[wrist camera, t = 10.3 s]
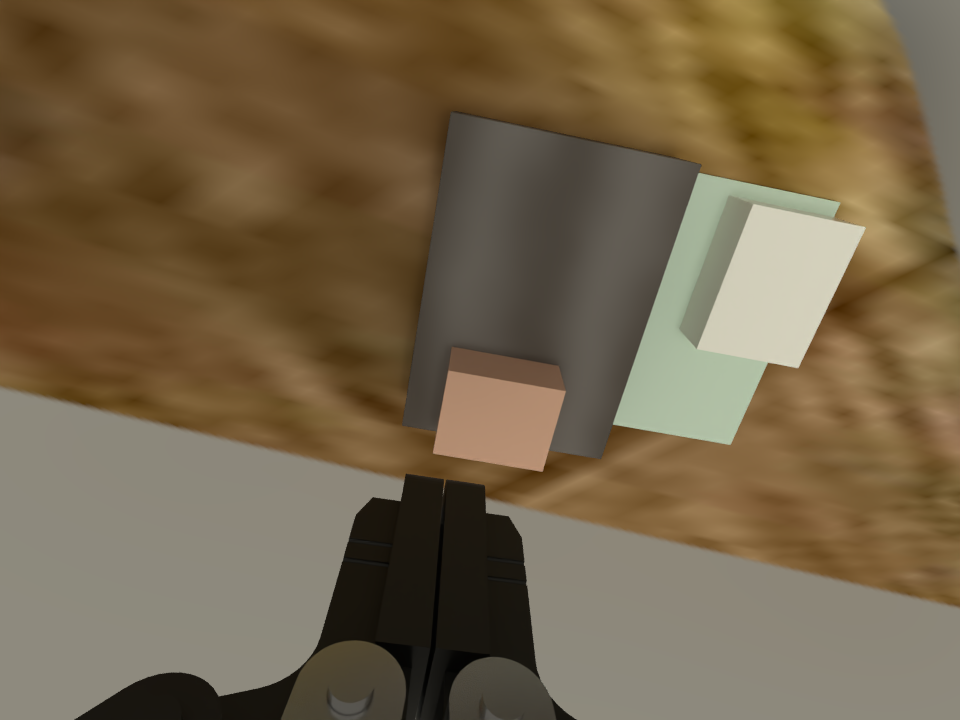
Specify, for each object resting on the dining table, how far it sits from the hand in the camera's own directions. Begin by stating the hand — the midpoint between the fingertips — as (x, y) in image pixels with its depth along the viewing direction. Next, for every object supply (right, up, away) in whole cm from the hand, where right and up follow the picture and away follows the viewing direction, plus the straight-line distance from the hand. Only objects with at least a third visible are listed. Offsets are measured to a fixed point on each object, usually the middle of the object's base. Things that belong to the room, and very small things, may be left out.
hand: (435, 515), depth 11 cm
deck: (+4, +7, +22) cm, 24 cm away
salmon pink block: (+2, +1, +21) cm, 21 cm away
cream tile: (+17, +7, +19) cm, 26 cm away
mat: (+15, +5, +23) cm, 28 cm away
